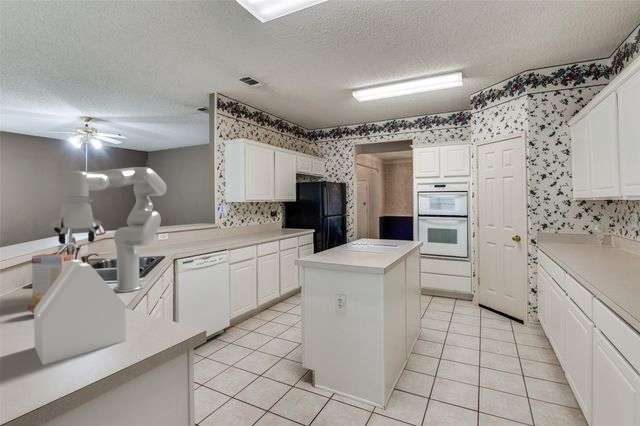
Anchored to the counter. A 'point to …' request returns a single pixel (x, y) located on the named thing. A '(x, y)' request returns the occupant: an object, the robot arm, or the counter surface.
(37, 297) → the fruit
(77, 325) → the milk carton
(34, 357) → the counter surface
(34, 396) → the counter surface
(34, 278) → the cracker box
